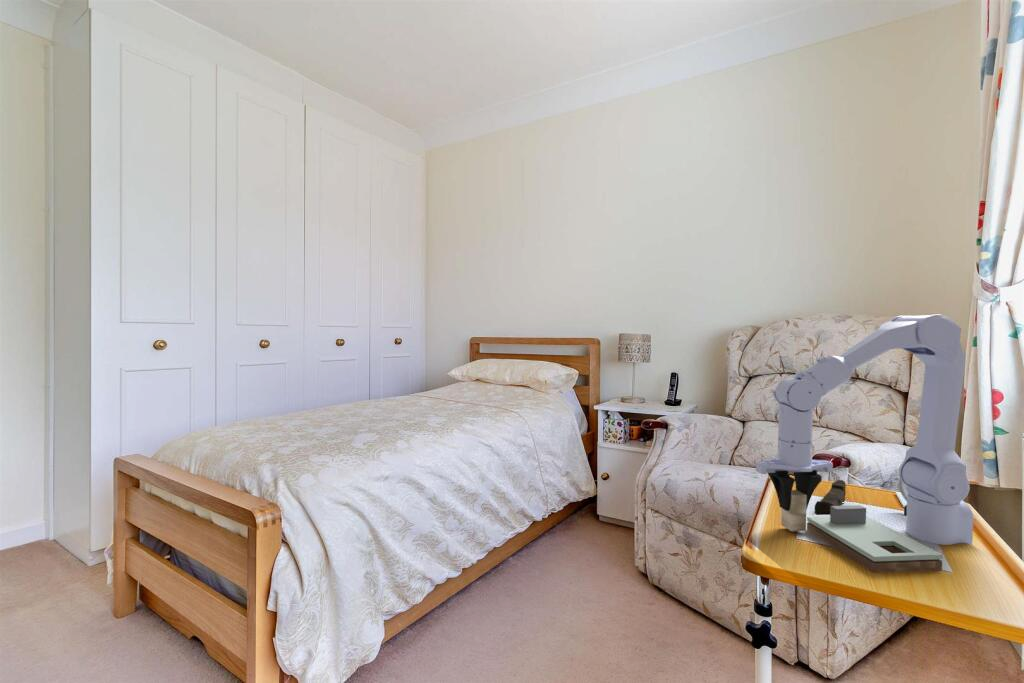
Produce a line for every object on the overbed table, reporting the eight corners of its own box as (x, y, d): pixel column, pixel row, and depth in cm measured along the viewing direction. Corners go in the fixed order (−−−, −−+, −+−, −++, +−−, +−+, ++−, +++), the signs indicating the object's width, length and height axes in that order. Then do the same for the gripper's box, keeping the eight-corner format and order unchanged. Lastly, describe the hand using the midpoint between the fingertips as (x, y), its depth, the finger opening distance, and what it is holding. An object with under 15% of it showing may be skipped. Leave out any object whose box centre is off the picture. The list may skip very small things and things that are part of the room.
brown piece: (864, 535, 95) (864, 520, 95) (941, 578, 79) (942, 560, 79) (806, 537, 94) (807, 522, 94) (873, 581, 78) (874, 563, 78)
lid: (864, 519, 95) (865, 500, 95) (942, 559, 79) (943, 536, 79) (807, 520, 94) (807, 501, 94) (874, 561, 78) (874, 538, 78)
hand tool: (835, 522, 102) (836, 501, 102) (814, 517, 105) (814, 496, 105) (855, 500, 115) (856, 481, 115) (836, 495, 118) (836, 477, 118)
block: (795, 524, 95) (796, 489, 95) (805, 530, 92) (806, 495, 92) (781, 524, 95) (781, 490, 95) (791, 531, 92) (791, 495, 92)
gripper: (771, 445, 89) (770, 517, 89) (845, 444, 90) (843, 515, 90) (750, 436, 96) (748, 503, 96) (819, 435, 97) (817, 501, 97)
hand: (793, 508), depth 94 cm, fingers closed on block, 3 cm apart
